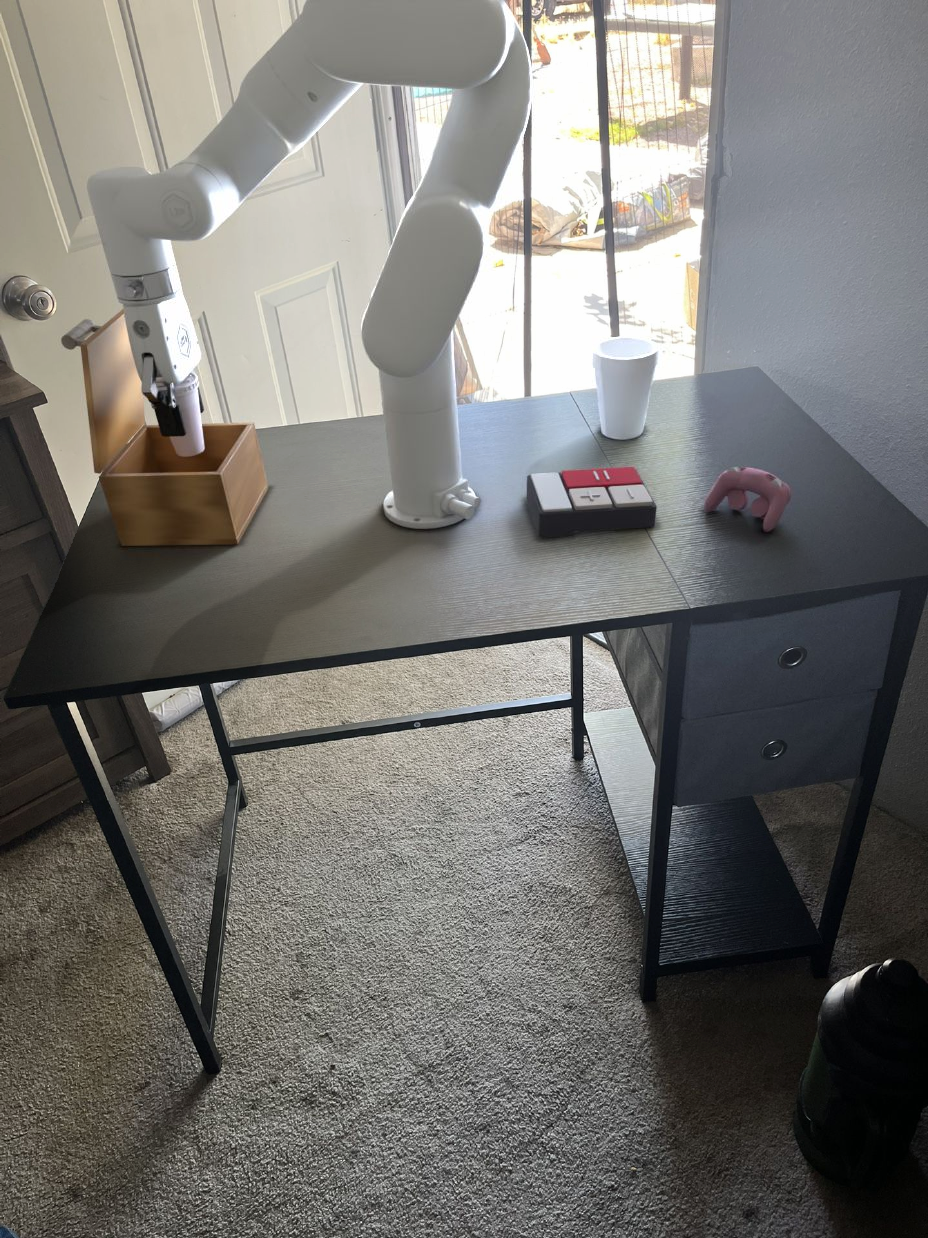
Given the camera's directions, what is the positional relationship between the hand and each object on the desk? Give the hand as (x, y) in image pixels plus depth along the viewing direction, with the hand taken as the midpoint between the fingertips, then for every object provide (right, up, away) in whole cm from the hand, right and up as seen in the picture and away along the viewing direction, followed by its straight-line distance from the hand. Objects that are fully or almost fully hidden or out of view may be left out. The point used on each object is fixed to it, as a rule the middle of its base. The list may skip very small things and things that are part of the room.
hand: (183, 422), depth 120 cm
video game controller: (+73, -12, -1) cm, 74 cm away
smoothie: (0, -3, +2) cm, 4 cm away
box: (-1, -11, +8) cm, 14 cm away
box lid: (-8, +4, -2) cm, 9 cm away
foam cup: (+61, +3, +21) cm, 65 cm away
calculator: (+53, -12, +2) cm, 54 cm away
